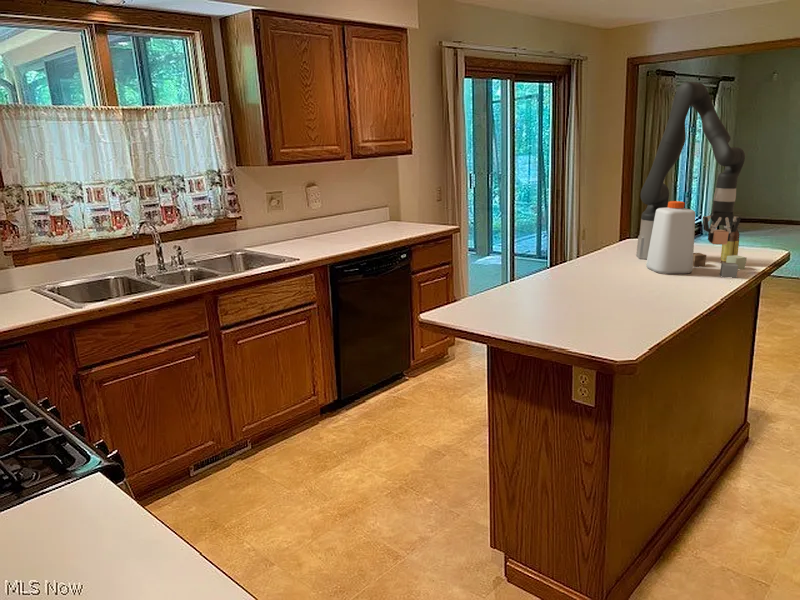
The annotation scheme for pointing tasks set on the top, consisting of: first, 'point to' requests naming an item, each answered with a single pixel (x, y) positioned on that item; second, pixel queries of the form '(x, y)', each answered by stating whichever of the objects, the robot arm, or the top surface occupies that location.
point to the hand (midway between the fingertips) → (717, 242)
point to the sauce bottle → (730, 245)
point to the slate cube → (729, 270)
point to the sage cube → (737, 261)
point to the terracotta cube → (720, 237)
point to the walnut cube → (699, 259)
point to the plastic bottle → (672, 240)
